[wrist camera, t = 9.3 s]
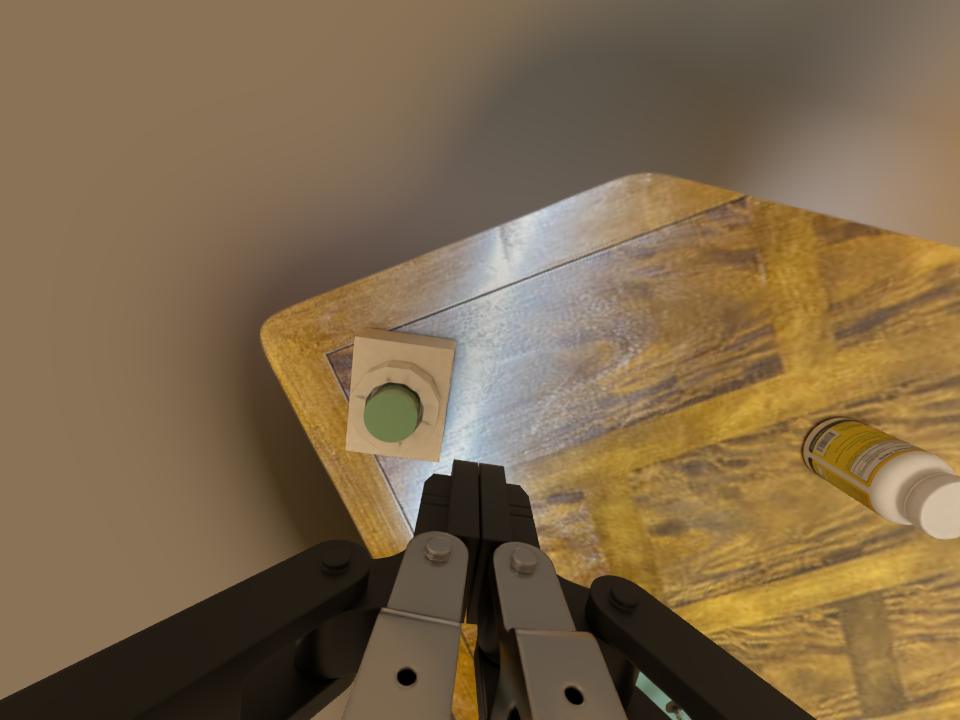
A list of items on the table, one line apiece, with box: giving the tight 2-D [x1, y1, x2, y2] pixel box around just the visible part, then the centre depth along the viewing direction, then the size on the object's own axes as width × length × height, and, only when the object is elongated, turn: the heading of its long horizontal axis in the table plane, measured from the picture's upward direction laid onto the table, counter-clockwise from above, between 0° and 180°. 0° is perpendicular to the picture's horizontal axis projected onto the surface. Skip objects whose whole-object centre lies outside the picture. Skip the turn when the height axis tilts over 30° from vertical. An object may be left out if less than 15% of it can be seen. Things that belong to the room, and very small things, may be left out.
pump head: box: [364, 385, 420, 443], centre depth 34 cm, size 4×4×2 cm
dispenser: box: [346, 328, 456, 462], centre depth 38 cm, size 10×8×6 cm
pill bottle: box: [804, 418, 960, 539], centre depth 37 cm, size 6×6×11 cm
